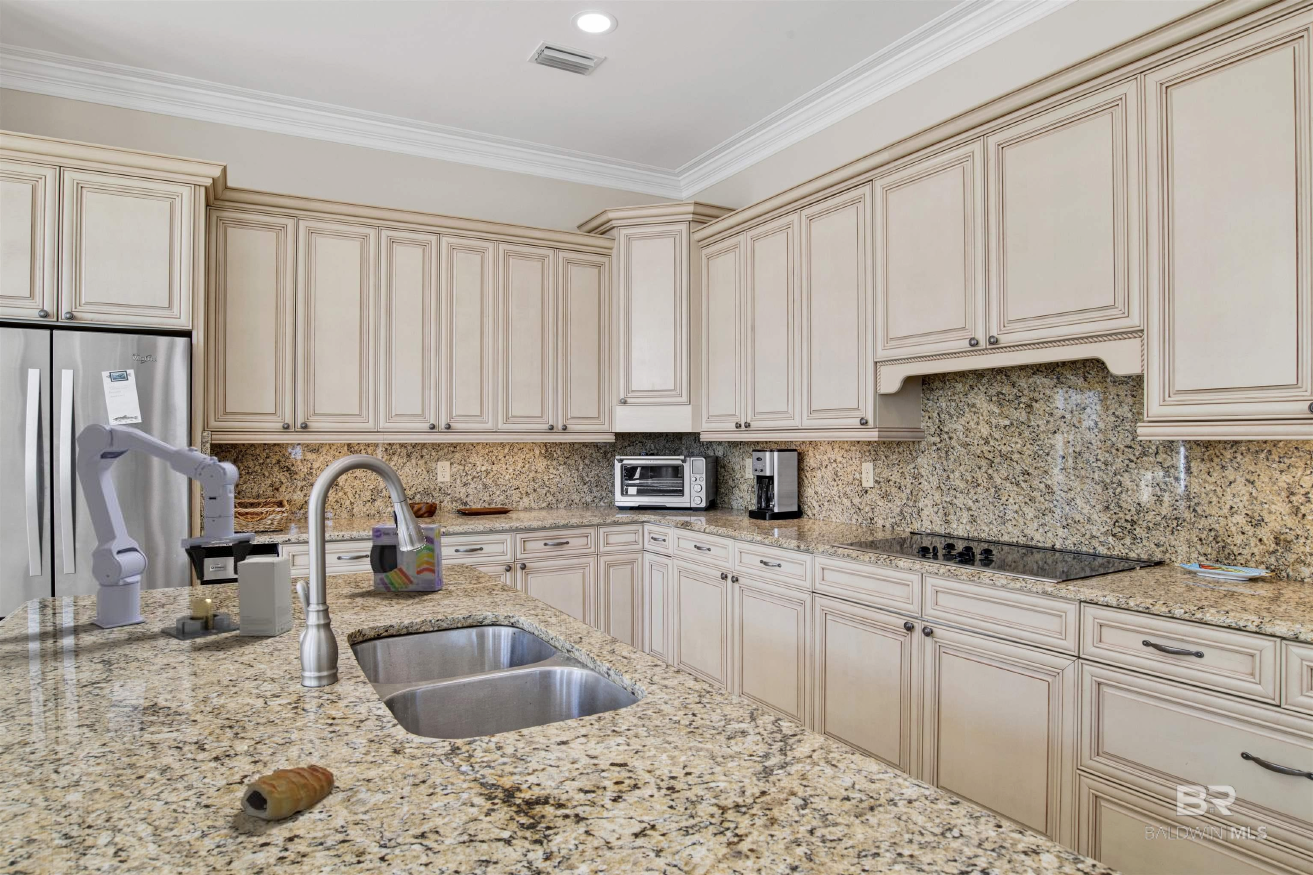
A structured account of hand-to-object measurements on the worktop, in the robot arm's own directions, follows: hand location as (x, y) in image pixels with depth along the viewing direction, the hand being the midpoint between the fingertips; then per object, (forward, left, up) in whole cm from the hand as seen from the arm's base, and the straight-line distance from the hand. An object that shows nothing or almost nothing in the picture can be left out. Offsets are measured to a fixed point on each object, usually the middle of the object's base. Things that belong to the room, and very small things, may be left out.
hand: (219, 577), depth 165 cm
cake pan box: (+2, +46, -10) cm, 47 cm away
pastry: (+95, -30, -10) cm, 100 cm away
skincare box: (+18, +2, -10) cm, 21 cm away
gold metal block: (+5, -5, -9) cm, 12 cm away
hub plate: (+5, -5, -10) cm, 12 cm away
